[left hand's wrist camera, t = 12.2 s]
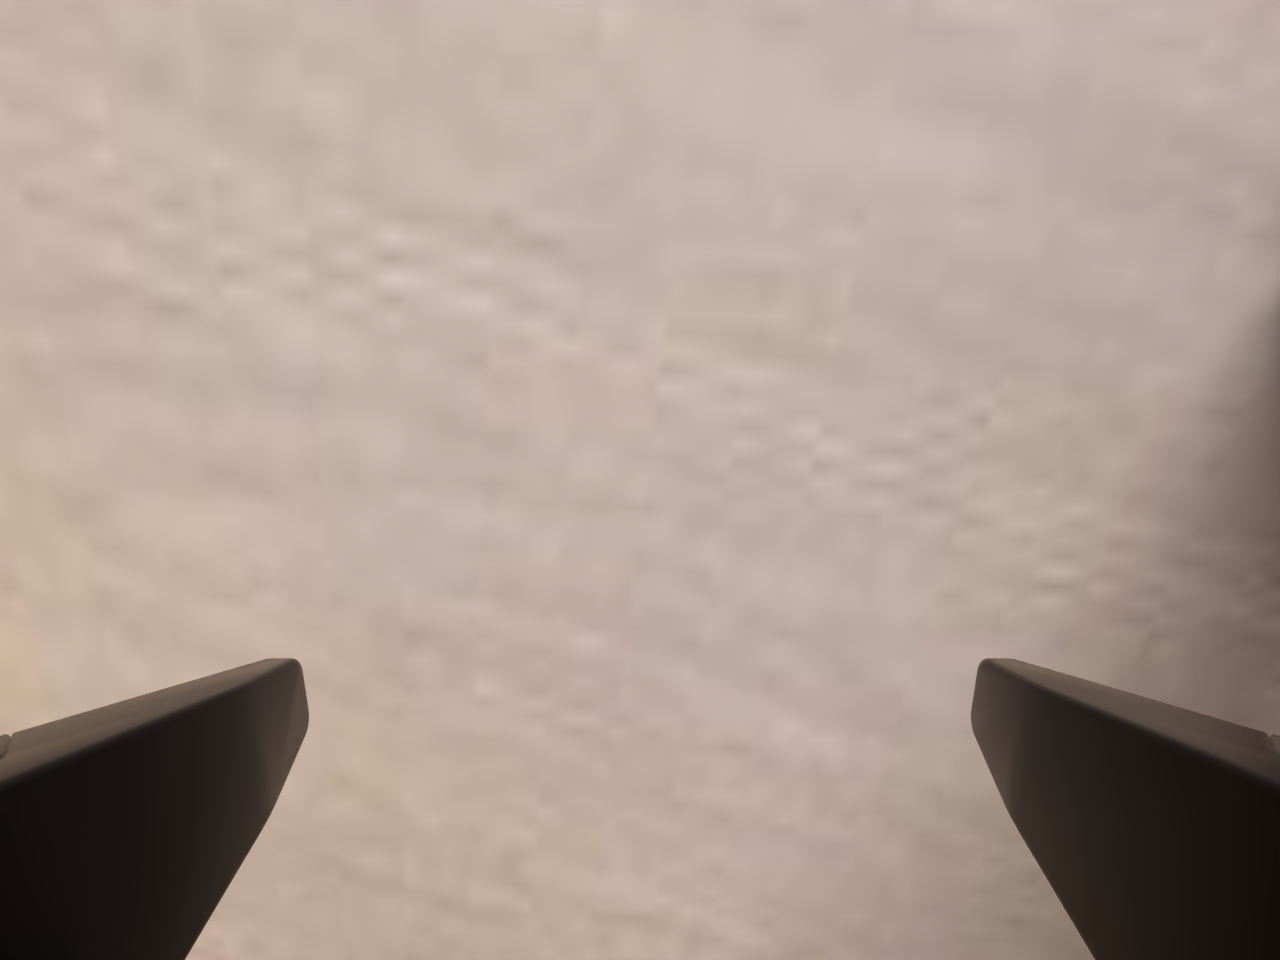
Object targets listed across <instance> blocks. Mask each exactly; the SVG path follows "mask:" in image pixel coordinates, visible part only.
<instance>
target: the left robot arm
mask: <svg viewBox="0 0 1280 960" xmlns="http://www.w3.org/2000/svg"><path fill="white" fill-rule="evenodd" d="M308 722H309V710H308V703H307V697H306V690H305V684H304V677H303V671H302V667H301V665H300V663H299V662H298V661H297V660H296V659H292V658H277V659H265V660H261V661H258V662H254V663H251V664H248V665H244V666H241V667H237V668H234V669H230V670H227V671H224V672H220V673H217V674H213V675H210V676H207V677H203V678H200V679H196V680H193V681H189V682H186V683H183V684H179V685H176V686H172V687H169V688H166V689H162V690H159V691H155V692H152V693H149V694H145V695H142V696H138V697H135V698H131V699H128V700H125V701H121V702H118V703H114V704H111V705H108V706H104V707H101V708H97V709H94V710H90V711H87V712H84V713H80V714H77V715H73V716H70V717H67V718H63V719H60V720H56V721H53V722H50V723H46V724H43V725H39V726H36V727H32V728H29V729H26V730H22V731H19V732H15V733H13V734H12V736H11V738H10V736H9V735H7V734H5V735H1V736H0V960H185V959H186V957H187V955H188V953H189V952H190V950H191V948H192V947H193V945H194V943H195V942H196V940H197V938H198V937H199V935H200V933H201V932H202V930H203V928H204V927H205V925H206V923H207V921H208V920H209V918H210V916H211V915H212V913H213V911H214V910H215V908H216V906H217V905H218V903H219V901H220V900H221V898H222V896H223V895H224V893H225V891H226V889H227V888H228V886H229V884H230V883H231V881H232V879H233V878H234V876H235V874H236V873H237V871H238V869H239V868H240V866H241V864H242V863H243V861H244V859H245V857H246V856H247V854H248V852H249V851H250V849H251V847H252V846H253V844H254V842H255V841H256V839H257V837H258V836H259V834H260V832H261V831H262V829H263V827H264V825H265V823H266V822H267V820H268V818H269V816H270V814H271V812H272V810H273V808H274V806H275V804H276V802H277V799H278V797H279V795H280V793H281V790H282V788H283V786H284V783H285V781H286V779H287V776H288V774H289V772H290V769H291V767H292V765H293V763H294V760H295V758H296V756H297V753H298V751H299V749H300V746H301V744H302V742H303V739H304V737H305V735H306V732H307V728H308ZM971 722H972V728H973V732H974V735H975V737H976V739H977V742H978V744H979V746H980V749H981V751H982V753H983V756H984V758H985V760H986V763H987V765H988V767H989V769H990V772H991V774H992V776H993V779H994V781H995V783H996V786H997V788H998V790H999V793H1000V795H1001V797H1002V799H1003V802H1004V804H1005V806H1006V808H1007V810H1008V812H1009V814H1010V816H1011V818H1012V820H1013V822H1014V823H1015V825H1016V827H1017V829H1018V831H1019V832H1020V834H1021V836H1022V837H1023V839H1024V841H1025V842H1026V844H1027V846H1028V847H1029V849H1030V851H1031V852H1032V854H1033V856H1034V857H1035V859H1036V861H1037V863H1038V864H1039V866H1040V868H1041V869H1042V871H1043V873H1044V874H1045V876H1046V878H1047V879H1048V881H1049V883H1050V884H1051V886H1052V888H1053V889H1054V891H1055V893H1056V895H1057V896H1058V898H1059V900H1060V901H1061V903H1062V905H1063V906H1064V908H1065V910H1066V911H1067V913H1068V915H1069V916H1070V918H1071V920H1072V921H1073V923H1074V925H1075V927H1076V928H1077V930H1078V932H1079V933H1080V935H1081V937H1082V938H1083V940H1084V942H1085V943H1086V945H1087V947H1088V948H1089V950H1090V952H1091V953H1092V955H1093V957H1094V959H1095V960H1280V736H1279V735H1275V734H1273V735H1271V736H1270V738H1269V736H1268V734H1267V733H1265V732H1261V731H1258V730H1254V729H1251V728H1248V727H1244V726H1241V725H1237V724H1234V723H1230V722H1227V721H1224V720H1220V719H1217V718H1213V717H1210V716H1207V715H1203V714H1200V713H1196V712H1193V711H1190V710H1186V709H1183V708H1179V707H1176V706H1172V705H1169V704H1166V703H1162V702H1159V701H1155V700H1152V699H1149V698H1145V697H1142V696H1138V695H1135V694H1131V693H1128V692H1125V691H1121V690H1118V689H1114V688H1111V687H1108V686H1104V685H1101V684H1097V683H1094V682H1091V681H1087V680H1084V679H1080V678H1077V677H1073V676H1070V675H1067V674H1063V673H1060V672H1056V671H1053V670H1050V669H1046V668H1043V667H1039V666H1036V665H1032V664H1029V663H1026V662H1022V661H1019V660H1015V659H1003V658H988V659H984V660H983V661H982V662H981V663H980V665H979V667H978V671H977V677H976V684H975V690H974V697H973V703H972V710H971Z"/></svg>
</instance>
